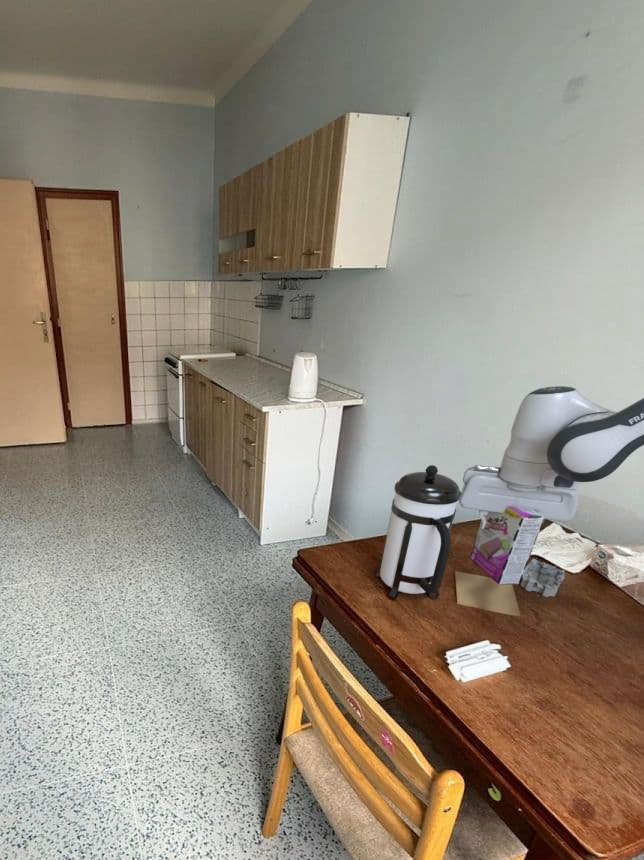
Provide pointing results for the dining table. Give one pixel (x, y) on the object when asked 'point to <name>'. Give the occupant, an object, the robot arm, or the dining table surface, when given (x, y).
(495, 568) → the candy bar box
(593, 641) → the dining table surface
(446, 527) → the coffee press
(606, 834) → the dining table surface
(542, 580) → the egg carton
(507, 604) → the cork pad
